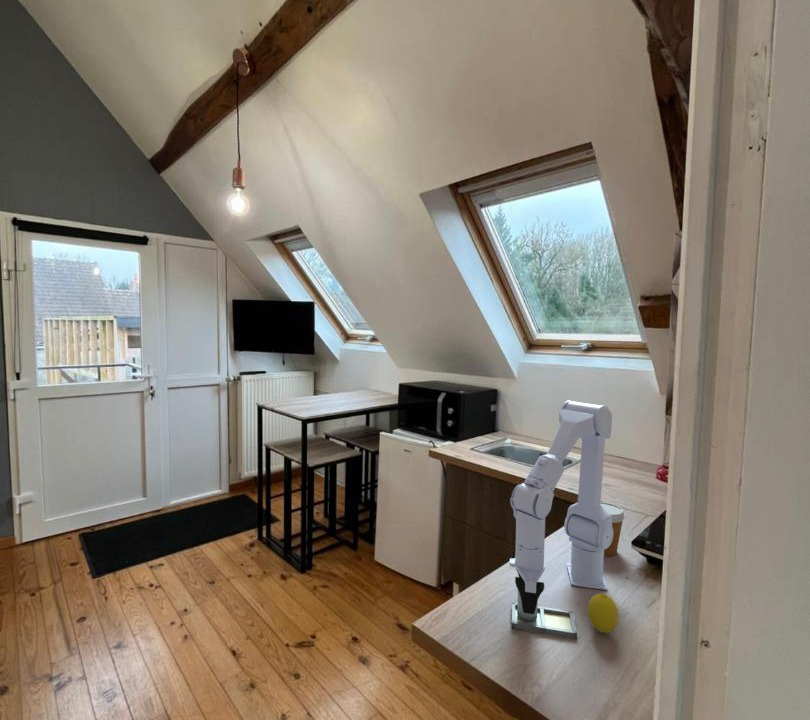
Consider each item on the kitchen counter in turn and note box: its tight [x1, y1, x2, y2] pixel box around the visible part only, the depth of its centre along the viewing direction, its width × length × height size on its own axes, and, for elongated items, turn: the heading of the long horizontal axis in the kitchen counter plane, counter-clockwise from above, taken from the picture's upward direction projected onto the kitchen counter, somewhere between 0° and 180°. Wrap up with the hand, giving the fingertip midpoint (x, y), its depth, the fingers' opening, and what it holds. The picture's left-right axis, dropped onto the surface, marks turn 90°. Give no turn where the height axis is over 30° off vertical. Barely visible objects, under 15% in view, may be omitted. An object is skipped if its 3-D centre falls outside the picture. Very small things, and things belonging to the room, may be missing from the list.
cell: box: [517, 589, 539, 622], centre depth 91 cm, size 4×4×7 cm
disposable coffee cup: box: [601, 501, 626, 557], centre depth 119 cm, size 10×10×12 cm
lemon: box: [587, 593, 619, 634], centre depth 87 cm, size 6×6×8 cm
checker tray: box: [511, 602, 578, 640], centre depth 90 cm, size 7×12×1 cm, turn 76°
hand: (528, 605), depth 91 cm, fingers closed on cell, 4 cm apart
